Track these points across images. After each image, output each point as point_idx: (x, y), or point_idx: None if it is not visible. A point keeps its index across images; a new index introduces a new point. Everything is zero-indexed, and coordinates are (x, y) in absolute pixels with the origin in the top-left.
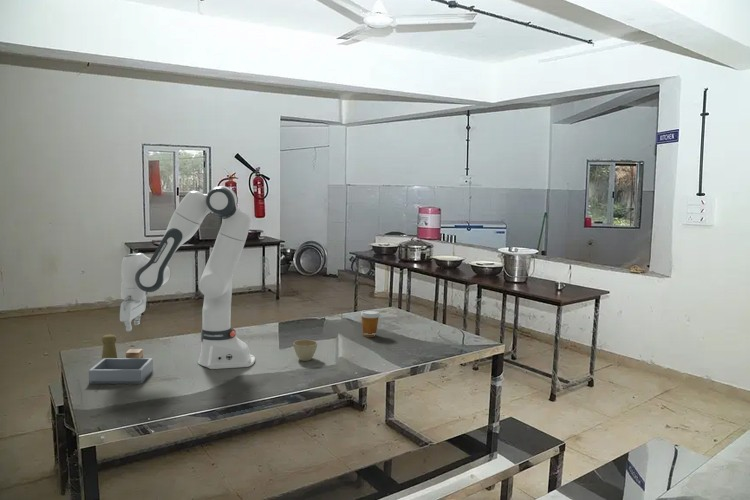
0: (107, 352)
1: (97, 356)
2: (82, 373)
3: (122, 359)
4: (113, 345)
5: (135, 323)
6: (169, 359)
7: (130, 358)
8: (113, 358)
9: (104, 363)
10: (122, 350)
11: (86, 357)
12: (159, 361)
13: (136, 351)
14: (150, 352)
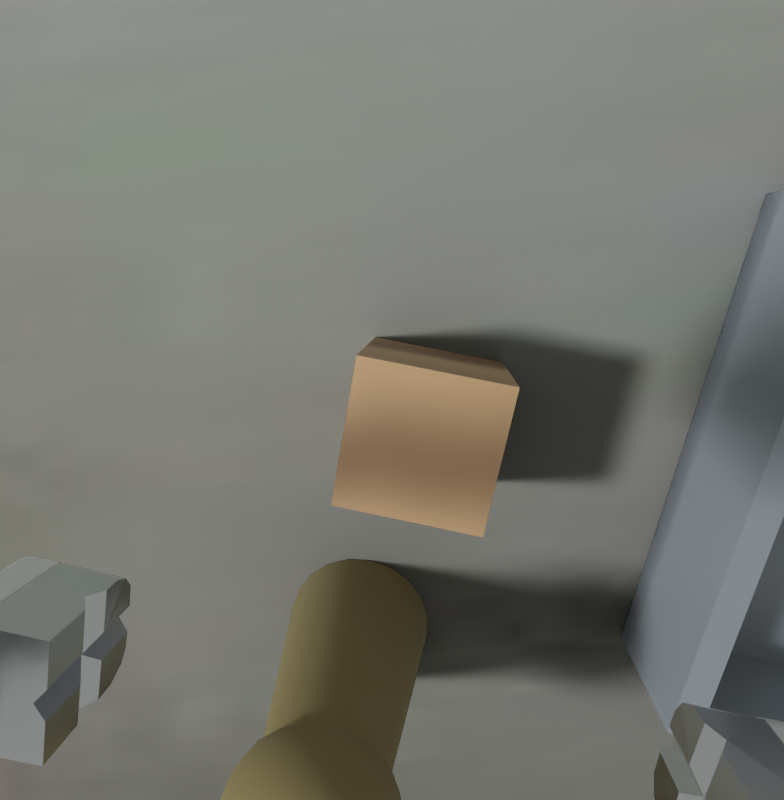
0: (405, 710)
1: (192, 720)
2: (642, 777)
3: (766, 546)
4: (363, 712)
5: (96, 666)
6: (378, 46)
7: (780, 462)
8: (714, 643)
9: (722, 692)
10: (28, 552)
11: (211, 788)
12: (433, 158)
13: (459, 421)
14: (100, 291)
